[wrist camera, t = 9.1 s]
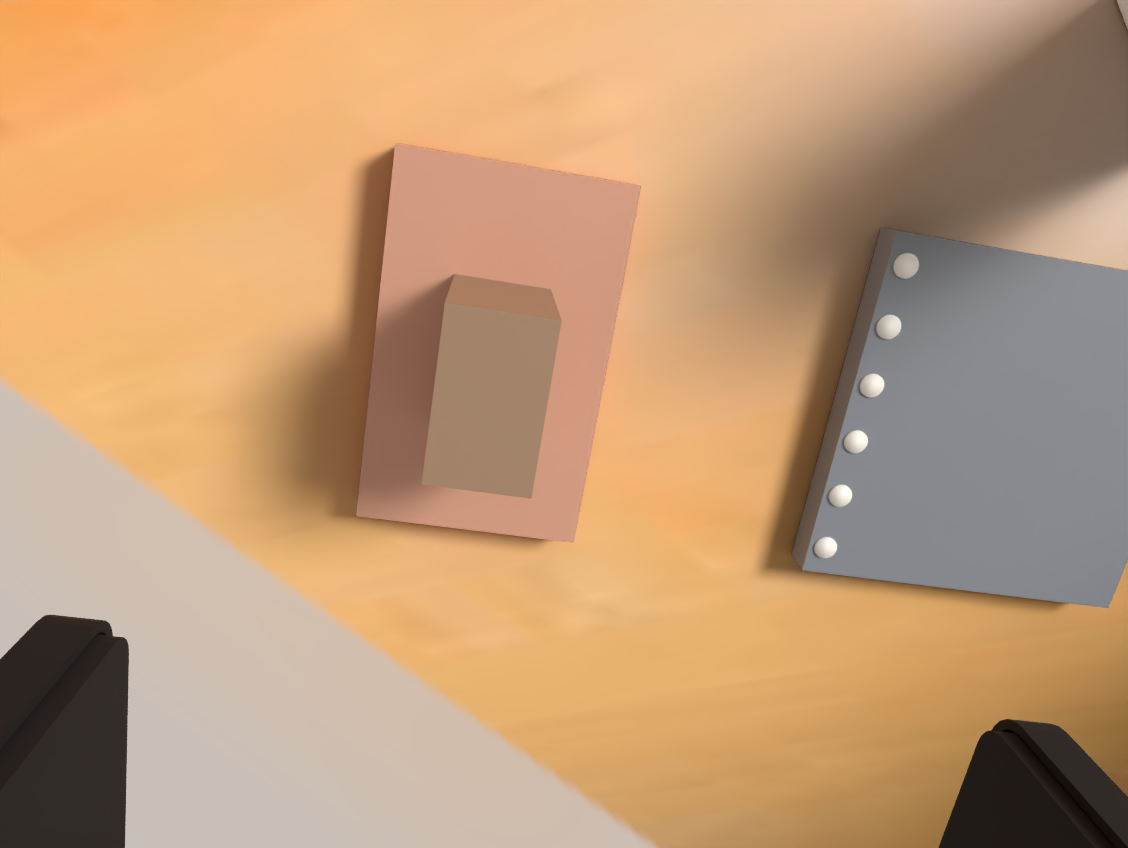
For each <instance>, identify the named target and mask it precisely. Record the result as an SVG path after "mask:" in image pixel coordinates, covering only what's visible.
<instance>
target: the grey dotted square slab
mask: <svg viewBox="0 0 1128 848" xmlns="http://www.w3.org/2000/svg"><path fill="white" fill-rule="evenodd" d="M791 555H792V557H793V558H794V560H795V561H796V562H797V564H798V565H799V567H800V568H801V570H803V571H811V572H819V573H828V574H836V575H844V576H852V577H860V578H868V579H876V580H884V581H893V582H901V583H909V584H917V585H925V586H933V587H941V588H949V589H957V590H966V591H974V592H982V593H990V594H998V595H1006V596H1014V597H1022V598H1031V599H1039V600H1047V601H1055V602H1063V603H1071V604H1079V605H1087V606H1095V607H1104V608H1108V607H1109V605H1110V602H1111V600H1112V597H1113V595H1114V593H1115V590H1116V588H1117V585H1118V583H1119V580H1120V578H1121V575H1122V573H1123V570H1124V568H1125V565H1126V563H1127V560H1128V271H1127V270H1121V269H1115V268H1110V267H1104V266H1098V265H1092V264H1087V263H1081V262H1075V261H1070V260H1064V259H1058V258H1052V257H1047V256H1041V255H1035V254H1030V253H1024V252H1018V251H1012V250H1007V249H1001V248H995V247H989V246H984V245H978V244H972V243H967V242H961V241H955V240H949V239H944V238H938V237H932V236H927V235H921V234H915V233H909V232H904V231H898V230H892V229H886V228H881V229H880V232H879V236H878V240H877V243H876V247H875V251H874V254H873V258H872V262H871V265H870V269H869V273H868V276H867V280H866V284H865V287H864V291H863V295H862V298H861V302H860V305H859V309H858V313H857V316H856V320H855V324H854V327H853V331H852V335H851V338H850V342H849V346H848V349H847V353H846V357H845V360H844V364H843V368H842V371H841V375H840V379H839V382H838V386H837V390H836V393H835V397H834V401H833V404H832V408H831V412H830V415H829V419H828V423H827V426H826V430H825V433H824V437H823V441H822V444H821V448H820V452H819V455H818V459H817V463H816V466H815V470H814V474H813V477H812V481H811V485H810V488H809V492H808V496H807V499H806V503H805V507H804V510H803V514H802V518H801V521H800V525H799V529H798V532H797V536H796V540H795V543H794V547H793V551H792V554H791Z"/></svg>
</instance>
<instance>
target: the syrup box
mask: <svg viewBox="0 0 1128 848" xmlns="http://www.w3.org/2000/svg"><path fill="white" fill-rule="evenodd" d="M1117 3H1118V5H1119V8H1120V11H1121V13H1122V16H1123V19H1124V22H1125V24H1126V27H1127V29H1128V0H1117Z"/></svg>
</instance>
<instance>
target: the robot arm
mask: <svg viewBox="0 0 1128 848" xmlns="http://www.w3.org/2000/svg"><path fill="white" fill-rule="evenodd" d="M128 664H129V649H128V643H127V640H126V639H125V638H123V637H114V636H113V635H112V629H111V626H110V624H109V623H108V622H107V621H103V620H94V619H85V618H76V617H66V616H56V615H46V616H44V617H42V618H41V619H40V620H38V621H37V622H36V623H35V624H34V625H33V626H32V627H31V628H30V629H29V631H27V632H26V634H25V635H24V636H23V637H22V638H21V639H20V640H19V641H18V642H17V643H16V644H15V645H14V646H13V647H12V648H11V649H10V650H9V651H8V652H7V653H6V654H5V655H4V656H3V657H2V658H1V659H0V848H125V813H126V763H127V714H128V713H127V712H128ZM939 848H1128V797H1127V796H1126V795H1125V794H1124V793H1123V792H1122V790H1121V789H1120V788H1119V787H1118V786H1117V785H1116V784H1115V783H1114V782H1113V781H1112V780H1111V779H1110V778H1109V777H1108V776H1107V775H1106V774H1105V773H1104V772H1103V770H1102V769H1101V768H1100V767H1099V766H1098V765H1097V764H1096V763H1095V762H1094V761H1093V760H1092V759H1091V758H1090V757H1089V756H1088V755H1087V754H1086V753H1085V752H1084V751H1083V749H1082V748H1081V747H1080V746H1079V745H1078V744H1077V743H1076V742H1075V741H1074V740H1073V739H1072V738H1071V737H1070V736H1069V735H1068V734H1067V733H1066V732H1065V731H1064V730H1063V729H1061V728H1060V727H1059V726H1056V725H1053V724H1047V723H1038V722H1029V721H1020V720H1010V719H1006V720H1002V721H999V722H998V723H997V724H996V725H995V726H994V727H993V729H992V731H987V732H985V733H984V734H983V735H982V736H981V737H980V739H979V741H978V743H977V746H976V749H975V752H974V754H973V757H972V760H971V762H970V765H969V768H968V770H967V773H966V776H965V778H964V781H963V784H962V786H961V789H960V792H959V794H958V797H957V800H956V802H955V805H954V808H953V810H952V813H951V816H950V819H949V821H948V824H947V827H946V829H945V832H944V835H943V837H942V840H941V843H940V845H939Z"/></svg>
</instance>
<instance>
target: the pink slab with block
mask: <svg viewBox="0 0 1128 848" xmlns="http://www.w3.org/2000/svg"><path fill="white" fill-rule="evenodd" d="M640 189H641V186H638V185H634V184H629V183H623V182H617V181H611V180H606V179H600V178H594V177H588V176H583V175H577V174H571V173H566V172H560V171H554V170H548V169H543V168H537V167H531V166H526V165H520V164H514V163H508V162H503V161H497V160H491V159H485V158H480V157H474V156H468V155H463V154H457V153H451V152H445V151H440V150H434V149H428V148H423V147H417V146H411V145H405V144H400V143H395V150H394V159H393V169H392V179H391V188H390V198H389V207H388V217H387V226H386V236H385V245H384V255H383V264H382V274H381V283H380V293H379V302H378V312H377V321H376V331H375V341H374V350H373V360H372V369H371V379H370V388H369V398H368V407H367V417H366V426H365V436H364V445H363V455H362V464H361V474H360V484H359V493H358V503H357V512H356V516H360V517H368V518H376V519H384V520H392V521H400V522H408V523H417V524H425V525H433V526H441V527H449V528H457V529H465V530H473V531H482V532H490V533H498V534H506V535H514V536H522V537H530V538H538V539H547V540H555V541H563V542H571V543H574V538H575V533H576V528H577V523H578V517H579V512H580V507H581V501H582V496H583V491H584V486H585V480H586V475H587V470H588V464H589V459H590V454H591V449H592V443H593V438H594V433H595V427H596V422H597V417H598V411H599V406H600V401H601V396H602V390H603V385H604V380H605V374H606V369H607V364H608V359H609V353H610V348H611V343H612V337H613V332H614V327H615V322H616V316H617V311H618V306H619V300H620V295H621V290H622V285H623V279H624V274H625V269H626V263H627V258H628V253H629V248H630V242H631V237H632V232H633V226H634V221H635V216H636V210H637V205H638V200H639V195H640Z"/></svg>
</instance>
